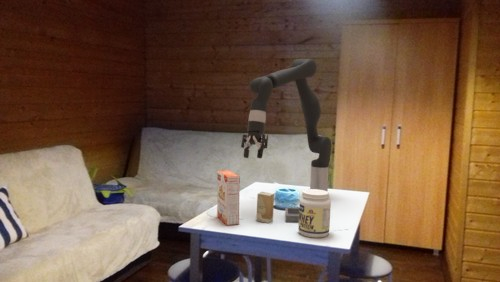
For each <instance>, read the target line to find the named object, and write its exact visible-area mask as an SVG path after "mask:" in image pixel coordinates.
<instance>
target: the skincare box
mask: <svg viewBox="0 0 500 282" xmlns="http://www.w3.org/2000/svg"><path fill="white" fill-rule="evenodd" d="M274 203H275V193H271V192H265V191H260V192H258V193H257V201H256V216H255V219H256V221H257V222H261V223H266V224H270V223H271V222H273V219H274V206H275V205H274Z"/></svg>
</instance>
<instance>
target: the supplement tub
mask: <svg viewBox="0 0 500 282" xmlns="http://www.w3.org/2000/svg"><path fill="white" fill-rule="evenodd" d="M301 192H302V194H301V197H300V199H299V206H298V208H299V223H298V232H299V234H300V235H302V236H304V237H308V238H313V239H314V238H325V237H327V236H328V235H329V233H330V222H331V221H330V220H331V205H332V203H331V200H330V199H329V197H330V196H329V194H330V193H329V191H328V192H327V191H324V190H319V189H310V188H309V189H308V188H307V189H303V190H302V191H301Z"/></svg>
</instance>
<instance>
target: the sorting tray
mask: <svg viewBox="0 0 500 282" xmlns="http://www.w3.org/2000/svg"><path fill="white" fill-rule="evenodd" d="M284 212H285V214H284V215H285V223H292V224H295V223H296V224H297V223H298V224H299V207H285V211H284Z"/></svg>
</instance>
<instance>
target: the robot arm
mask: <svg viewBox="0 0 500 282" xmlns="http://www.w3.org/2000/svg"><path fill="white" fill-rule="evenodd" d="M316 73H317V63H316V61H315V60H314V59H312V58H297V59H294V61H292V64H291V67H290V68H285V69H280V70H276V71H274V72H272V73H269V74H268V75H264V76H260V77H256V78H253V79H252V80H251V82H250V83H249V88H250V91H251V93H253V94H254V95H256V97H254V98H252V100H251V102H250V111H249V114H248V122H247V132H248V134H242V139H241V145H240V147H241V148H243V158H245V159H249V155H250V148H251V147H252V146H253V145H256V146H257V148H258V149H257V155H256V158H257V159H262V158H263V154H264V150H265V149H267V148H268V143H269V142H268V141H269V135H268V134H266V133H265V129H266V128H265V127H266V121H267V120H266V119H267V105H268V102H269V100H270V97H271V94H272V91H273V89H277V88H279V87H281V86H284V85H287V84H288V83H291V82H295V85H296V88H297V91H298V96H299V100H300V105H301V109H302V110H301V111H302V114H303V118H304V123H305V128H306V135H307V136H306V137H307V144H308V148H309V150H310V151H311V153H314V154H318V157H317V158H315V159H313V160H311V164H310V188H309V189H319V190H324V191H327V192H329V191H328V189H329V169H330V166H329V165H330V162H331V156H332V155H331V153H332V139H330V137H329V136H321V135H319V133H318V123H319V121H320V118H321V115H322V109H321V103H320V100H319V98H318V96H317V95H316V94H315V92H314V91H313V90H312V88H311V87H310V85H309V83H308V80H307V78H311V77H313V76H315V74H316Z"/></svg>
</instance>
